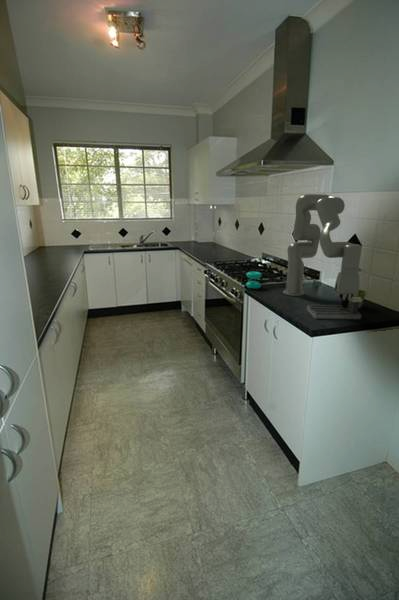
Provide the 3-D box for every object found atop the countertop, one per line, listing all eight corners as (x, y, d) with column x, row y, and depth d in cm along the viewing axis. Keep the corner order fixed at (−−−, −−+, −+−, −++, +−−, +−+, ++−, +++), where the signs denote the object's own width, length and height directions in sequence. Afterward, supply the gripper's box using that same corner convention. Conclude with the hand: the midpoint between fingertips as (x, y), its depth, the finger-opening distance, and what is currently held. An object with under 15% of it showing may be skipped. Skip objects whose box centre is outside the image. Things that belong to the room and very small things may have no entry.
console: (306, 309, 167) (307, 304, 166) (348, 310, 166) (349, 304, 166) (315, 318, 154) (315, 313, 153) (360, 319, 153) (361, 313, 152)
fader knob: (347, 311, 157) (349, 296, 155) (356, 311, 157) (359, 297, 155) (350, 313, 154) (352, 298, 152) (359, 313, 154) (362, 298, 151)
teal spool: (254, 270, 215) (264, 273, 207) (253, 284, 218) (264, 287, 210) (243, 272, 210) (253, 274, 202) (242, 286, 213) (252, 289, 205)
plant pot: (368, 308, 169) (371, 292, 166) (354, 310, 166) (356, 294, 164) (355, 303, 178) (358, 288, 175) (341, 304, 175) (343, 289, 172)
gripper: (361, 269, 153) (356, 305, 158) (330, 268, 153) (326, 304, 158) (369, 272, 145) (363, 310, 151) (336, 272, 146) (331, 309, 151)
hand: (344, 307), depth 155 cm, fingers closed
